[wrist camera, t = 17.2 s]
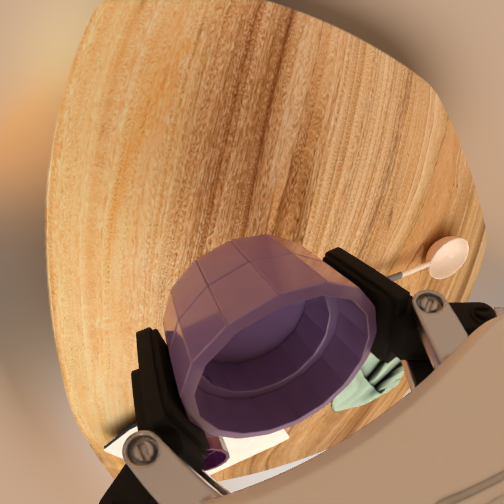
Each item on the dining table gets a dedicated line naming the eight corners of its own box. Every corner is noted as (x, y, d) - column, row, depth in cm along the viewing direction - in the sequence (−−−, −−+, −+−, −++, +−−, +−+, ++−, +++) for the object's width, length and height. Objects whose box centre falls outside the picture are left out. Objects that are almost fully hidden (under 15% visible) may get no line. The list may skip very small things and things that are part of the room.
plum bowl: (158, 445, 25) (164, 473, 21) (166, 417, 23) (173, 449, 20) (210, 445, 28) (219, 470, 24) (226, 417, 26) (237, 446, 22)
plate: (290, 423, 36) (297, 435, 34) (186, 473, 34) (190, 485, 32) (223, 363, 26) (232, 382, 24) (91, 431, 24) (92, 448, 22)
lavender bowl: (149, 362, 10) (164, 443, 7) (190, 209, 9) (227, 260, 5) (279, 367, 13) (318, 424, 10) (337, 252, 12) (404, 296, 8)
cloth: (315, 394, 35) (324, 406, 33) (422, 297, 36) (433, 305, 34) (347, 422, 45) (353, 430, 43) (425, 352, 47) (432, 358, 45)
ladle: (449, 262, 35) (469, 277, 31) (282, 300, 31) (296, 327, 27) (458, 226, 32) (480, 239, 28) (282, 251, 28) (298, 275, 24)
